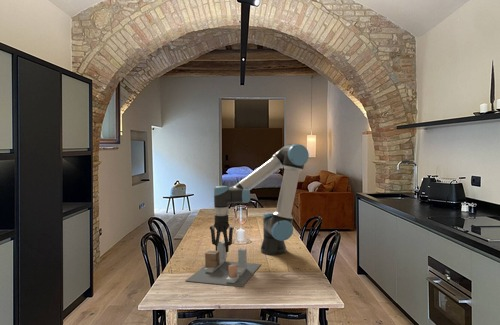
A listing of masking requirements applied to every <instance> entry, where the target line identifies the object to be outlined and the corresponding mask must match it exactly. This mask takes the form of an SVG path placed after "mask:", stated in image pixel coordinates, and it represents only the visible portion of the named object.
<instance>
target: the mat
mask: <svg viewBox="0 0 500 325" xmlns="http://www.w3.org/2000/svg"><path fill="white" fill-rule="evenodd" d="M230 264H236V265H237V267H238V261H227V260H226V261H225V262H224V263H223V264H222V265H221V266H220V267H219V268H217V269H216V270H215V271H214V272H213V273H209V272H205V268H207V267H205V265H204V266H202V267H201V268H200V269H198V270H197V271H196V272H195V273H193V274H192V275H191V276H189V277H188V278H187V279H185V282H187V283H198V284H208V285H219V286H230V287H239V288H243V287H244V286H245V285H246V283H248V281H250V279H251V277H252V276H253V275H254V274H255V273H256V272H257V270H258V269H259V268H260V267H261V265H262V263H252V262H247V269H246V270H245V272H244V273H243V274H242V275H241V276H239V279H238V280H237V281H236V282H235V283H227V282H226V278H227V277H228V276H229V265H230Z"/></svg>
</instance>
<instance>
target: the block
mask: <svg viewBox="0 0 500 325" xmlns="http://www.w3.org/2000/svg"><path fill="white" fill-rule="evenodd" d="M204 258H205V259H204V261H205V262H204V263H205V264H204V266H205V267H209V268H216V267H218V266H219V265H220V256H219V251H216V250H208V251H206V252H205V253H204Z"/></svg>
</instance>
